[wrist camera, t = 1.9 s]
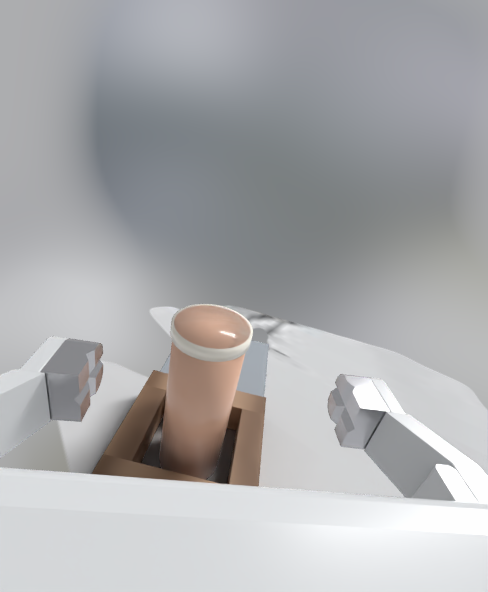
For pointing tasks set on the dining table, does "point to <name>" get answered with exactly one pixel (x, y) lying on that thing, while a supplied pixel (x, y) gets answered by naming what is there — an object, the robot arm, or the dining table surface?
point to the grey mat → (248, 369)
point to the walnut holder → (143, 424)
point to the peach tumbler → (201, 386)
